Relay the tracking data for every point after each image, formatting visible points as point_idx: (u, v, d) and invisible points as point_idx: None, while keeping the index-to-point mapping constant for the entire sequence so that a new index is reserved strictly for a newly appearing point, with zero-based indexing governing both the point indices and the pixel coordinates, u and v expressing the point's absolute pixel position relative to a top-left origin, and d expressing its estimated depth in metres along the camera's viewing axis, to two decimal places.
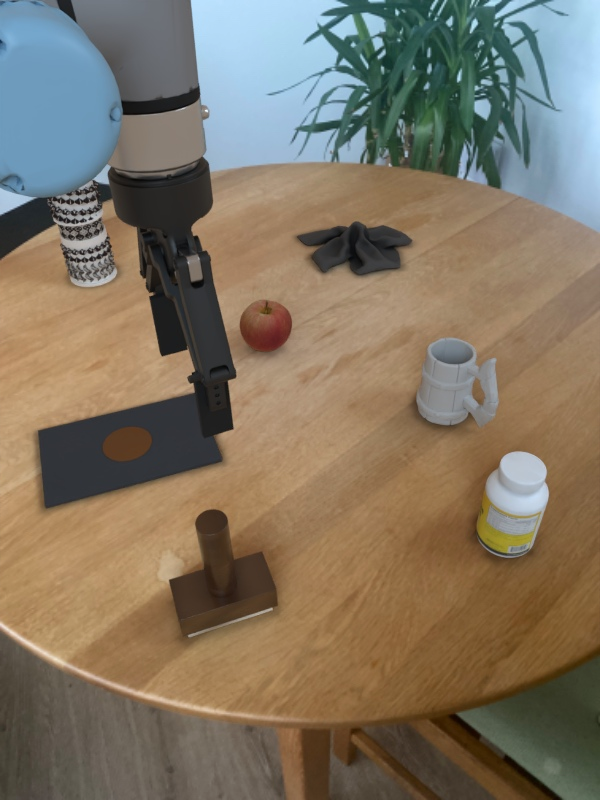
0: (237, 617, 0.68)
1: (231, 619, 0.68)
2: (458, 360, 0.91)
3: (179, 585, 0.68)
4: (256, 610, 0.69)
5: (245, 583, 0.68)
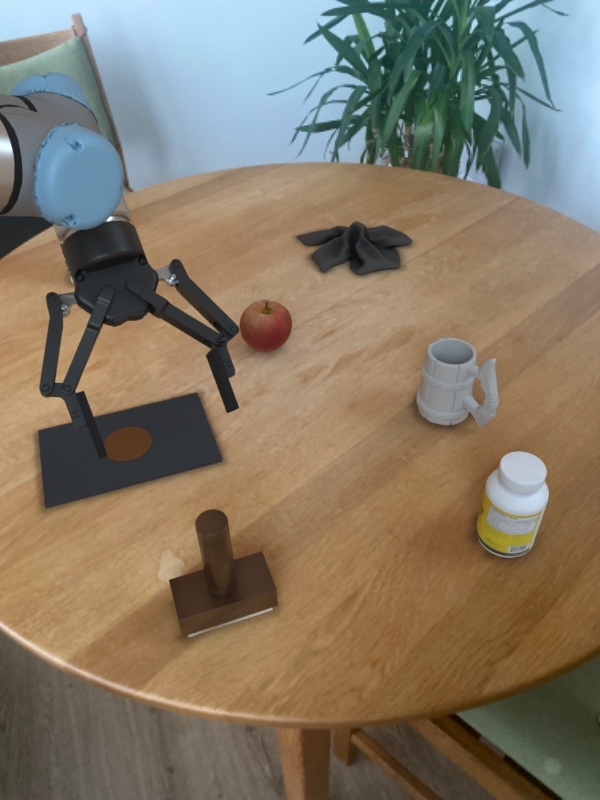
0: (237, 617, 0.68)
1: (231, 619, 0.68)
2: (458, 360, 0.91)
3: (179, 585, 0.68)
4: (256, 610, 0.69)
5: (245, 583, 0.68)
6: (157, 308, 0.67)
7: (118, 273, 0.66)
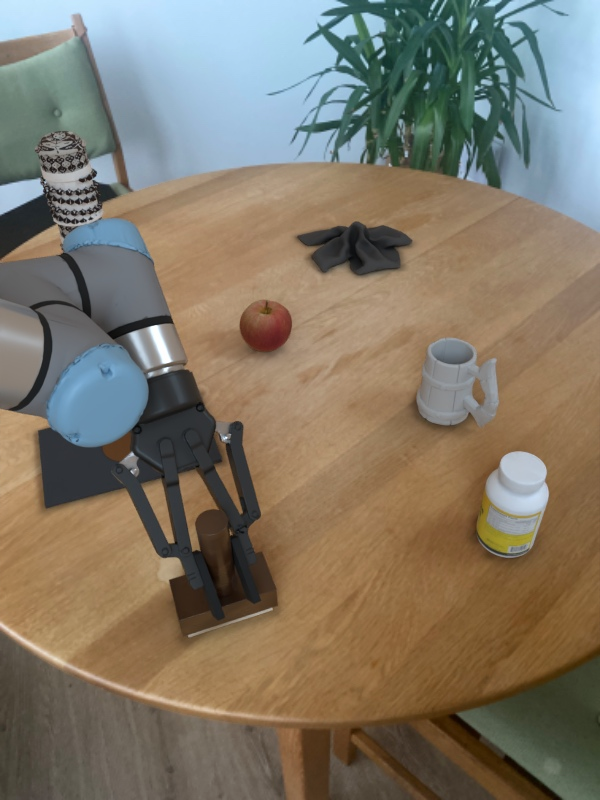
0: (237, 617, 0.68)
1: (231, 619, 0.68)
2: (458, 360, 0.91)
3: (179, 585, 0.68)
4: (256, 610, 0.69)
5: None
6: (200, 468, 0.64)
7: (176, 422, 0.64)
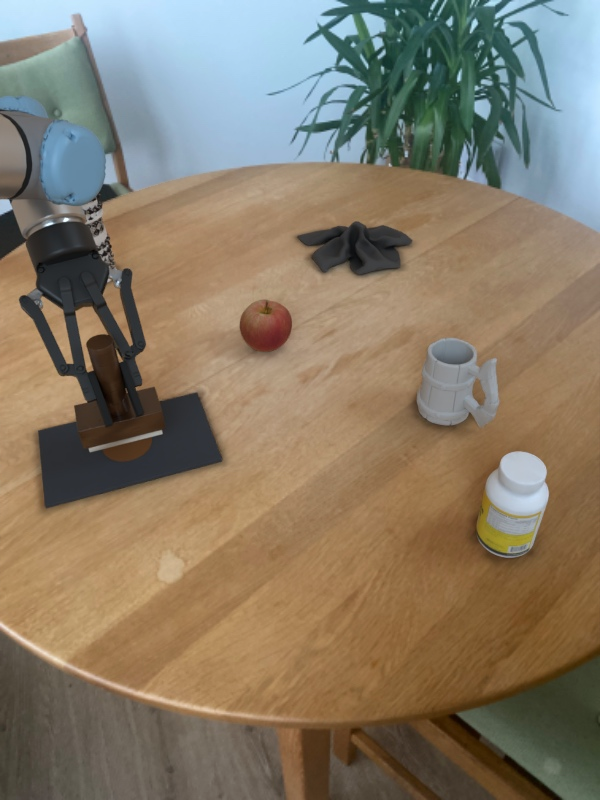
0: (130, 435, 0.82)
1: (125, 437, 0.82)
2: (458, 360, 0.91)
3: (82, 409, 0.82)
4: (147, 430, 0.83)
5: None
6: (94, 303, 0.78)
7: (74, 266, 0.78)
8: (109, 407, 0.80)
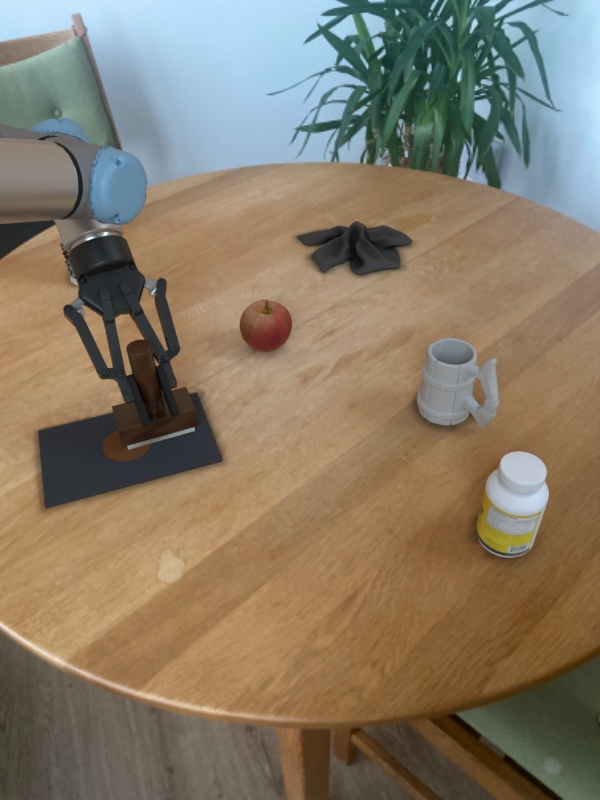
0: (166, 433, 0.88)
1: (161, 434, 0.88)
2: (459, 360, 0.91)
3: (119, 409, 0.88)
4: (181, 428, 0.88)
5: None
6: (132, 311, 0.84)
7: (113, 276, 0.84)
8: (146, 407, 0.86)
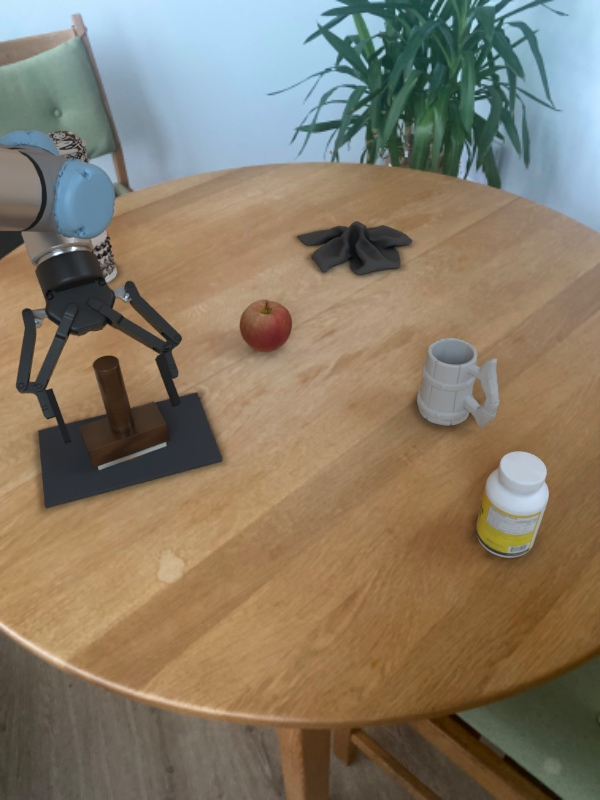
0: (137, 450, 0.86)
1: (132, 452, 0.85)
2: (459, 360, 0.91)
3: (87, 429, 0.85)
4: (152, 443, 0.86)
5: (140, 422, 0.86)
6: (113, 321, 0.82)
7: (81, 292, 0.81)
8: (116, 425, 0.83)
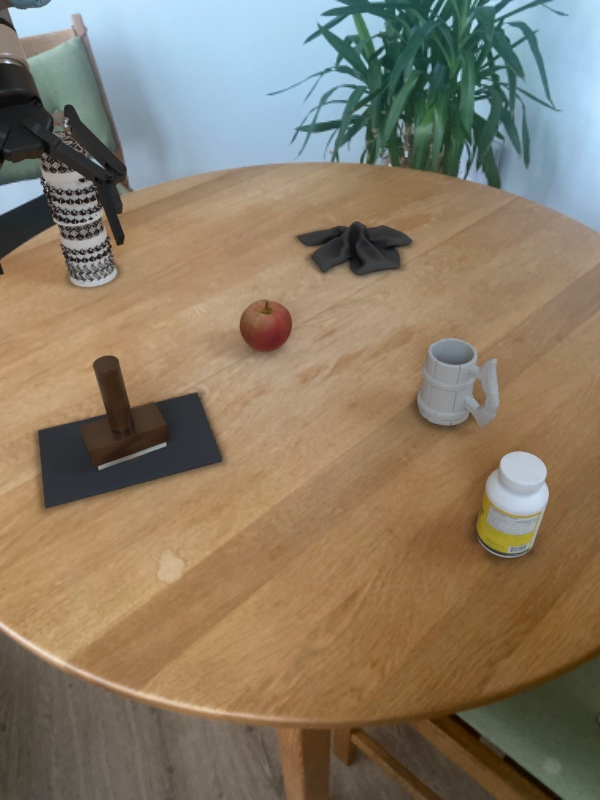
0: (137, 450, 0.86)
1: (132, 452, 0.85)
2: (459, 360, 0.90)
3: (87, 429, 0.85)
4: (152, 443, 0.86)
5: (140, 422, 0.86)
6: (50, 145, 0.76)
7: (15, 112, 0.75)
8: (116, 425, 0.83)
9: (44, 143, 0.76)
